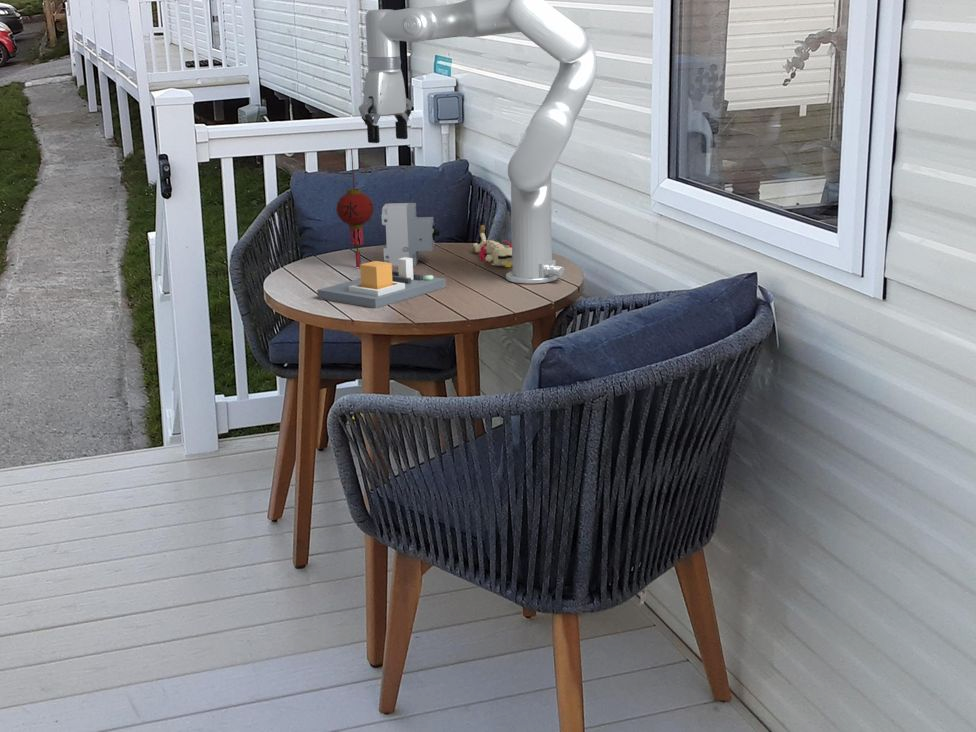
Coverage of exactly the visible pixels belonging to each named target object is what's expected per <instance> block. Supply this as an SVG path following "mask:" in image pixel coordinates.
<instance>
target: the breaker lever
mask: <svg viewBox="0 0 976 732" xmlns="http://www.w3.org/2000/svg"><path fill="white" fill-rule="evenodd" d="M397 267H398V269H397V271H399V276H400V277H407V278H411V280H413V273H414V266H413V258H407V257H404V258H400V259H398V266H397Z"/></svg>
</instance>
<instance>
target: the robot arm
mask: <svg viewBox="0 0 976 732" xmlns="http://www.w3.org/2000/svg"><path fill="white" fill-rule="evenodd" d="M364 18H365V21H364V23H365V34H366V37H365V38H366V54H367V55H366V56H367V70H368V72H365V76H364V86H363V87H364V88H363V103H362V104H360V105H359V107H358V111H359V113H360V115H361V119H362V120H363V122H364V125H365V126H366V129H367V130H366V131H367V134H366V135H367V142H368V143H369V144H379V143H380V142H381V139H380V127H379V126H380V125H377V124H378V123H379V121H380V118H381V117H388V116H390V117H391V116H394V118H395V119H396V120H397V121H395V137H396V139H397V140H407V139H408V138H409V135H408V122H409V120H410V118H409V117H410V116H411V113H412V108H413V104H414V102H413V101H412V100H411V99H409V98H407V95H406V88H405V80H404V76H403V72H402V68H401V64H402V61H401V52H400V51H401V50H400V41H401V42H408V43H419V42H426V41H427V42H428V41H433V40H441V39H443V40H444V39H450V38H451V39H452V38H460V37H465V38H479V37H486V36H488V37H489V36H497V35H504V34H514V33H521V34H522V35H524V36H525V37H526V38H527V39H529V40H530V41H531V42H533V43H534V44H535V45H536V46H537V47H539V48H541V49H542V50H543V51H544V52H545V53H547V54H548V55H549V56H551V57H552V58H553V59H554V60H556V61H558V62H559V68H558V71H557V73H556V76H555V77H554V80H553V81H552V84H551V86H550V88H549V90H548V91H547V94H546V96H545V98H544V100H543V101H542V102H541V105H540V106H539V108H538V109H537V110H536V111H535V112H534V114H533V116H532V117H531V119H530V121H529V123H528V125H527V127H526V129H525V130H524V133H523V136H522V137H521V138H520V141H519V142H518V144H517V146H516V148H515V149H514V150H515V151H514V152H513V154H512V156H511V157H510V159H509V161H508V165H507V176H508V180H509V181H510V222H511V226H510V228H511V232H510V233H511V244H512V265H511V271H509V272H507V273H506V274H505V279H506V281H508V282H512V283H517V284H528V285H529V284H532V285H533V284H544V283H545V284H546V283H551V282H554V281H557V280H559V277H561V276H563V274H564V272H565V266H561V265H557V263H556V261H557V260H556V259H553V254H552V253H553V246H552V245H553V244H552V241H553V240H552V236H553V235H552V229H553V228H552V177H553V176H552V172H553V170H554V168H555V166H556V164H557V163H558V161H559V159H560V157H561V155H562V153H563V152H564V149H565V148H566V146H567V144H568V141H569V140H570V138H571V135H572V133H573V128H574V124H575V123H576V120H577V119H578V116H579V114H580V112H581V110H582V108H583V107H584V104H585V102H586V99H587V97H588V96H589V94H590V91H591V89H592V88H593V85H594V82H595V79H596V76H597V69H598V68H597V67H598V66H597V65H598V62H597V55H596V50H595V47H594V45H593V42H592V41H591V38H590V37H589V36H588V33H587V32H585V30H584V29H583V28H582V26H579V24H576V23H574V22H573V21H572V20H570V19H569V18H567V16H565V15H564V14H562V13H561V12H559V11H558V9H556V8H555V7H553V6H552V5H551V4H549V2H547V1H546V0H463V1H459V2H456V3H450V4H449V3H448V4H442V5H440V4H439V5H431V6H424V7H408V8H403V9H395V10H394V9H389V8H388V9H371V10H368V11H367V12H366V13H365V17H364Z"/></svg>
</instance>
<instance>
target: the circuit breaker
mask: <svg viewBox="0 0 976 732" xmlns="http://www.w3.org/2000/svg"><path fill="white" fill-rule="evenodd" d="M434 221H435V219H434V216H417V203H416V202H405V203H404V202H403V203H402V202H399V203H398V202H397V203H393V202H392V203H384V205H383V207H382V208H381V224H382V226H383V227H385V236H386V237H385V238H386V243H385V245H384V247H383V249H382V250H383V262H387V263H392V267H398V259H400V258H404V257H407V258H413V267H415V266H417V263H418V261H419V252H432V251H433V250H434V248H435V239H436V237H437V236H438V237H440V234H441V231H440V230H441V229H436V227H435V222H434Z"/></svg>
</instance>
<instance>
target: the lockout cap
mask: <svg viewBox="0 0 976 732" xmlns="http://www.w3.org/2000/svg"><path fill="white" fill-rule="evenodd" d="M392 270H393V266H392V263H387V262H384V261H379V260H374V261H373V260H372V261H369V262H365V263H361V265H360V268H359V271H360V272H359V273H360V274H359V275H360V278H361V287H364V288H371V289H377V290H378V289H381V288H385V287H388V286H392V285H393V282H392Z"/></svg>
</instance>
